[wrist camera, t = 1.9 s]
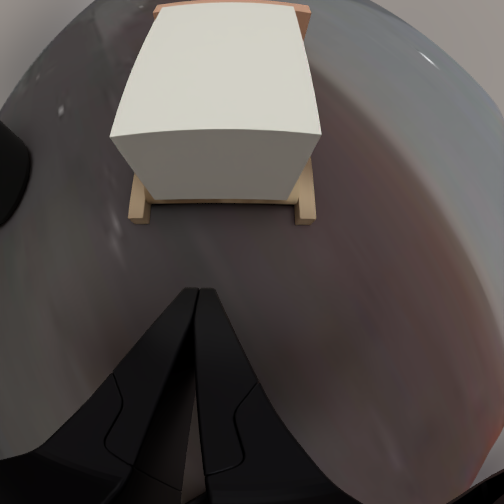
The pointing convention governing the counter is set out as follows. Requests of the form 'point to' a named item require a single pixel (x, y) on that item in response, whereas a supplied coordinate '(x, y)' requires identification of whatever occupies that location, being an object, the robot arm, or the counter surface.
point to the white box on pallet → (219, 104)
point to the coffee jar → (11, 171)
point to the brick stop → (300, 10)
